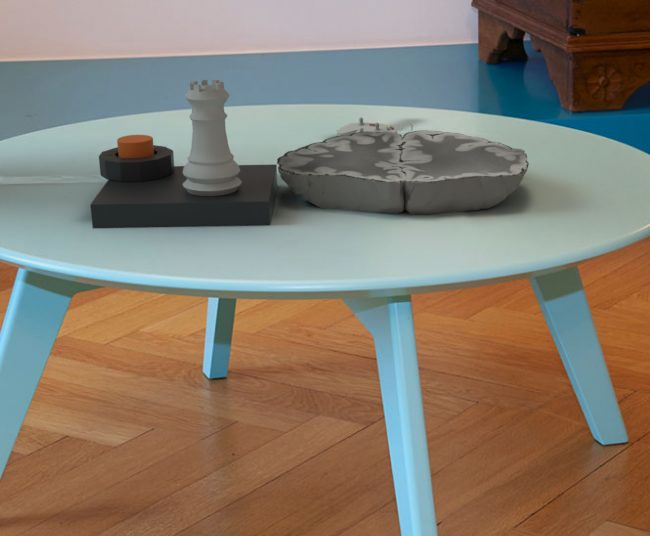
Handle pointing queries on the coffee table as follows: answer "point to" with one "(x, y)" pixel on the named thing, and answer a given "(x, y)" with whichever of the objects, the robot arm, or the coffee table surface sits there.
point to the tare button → (135, 146)
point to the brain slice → (404, 172)
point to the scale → (176, 195)
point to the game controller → (366, 128)
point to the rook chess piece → (209, 143)
